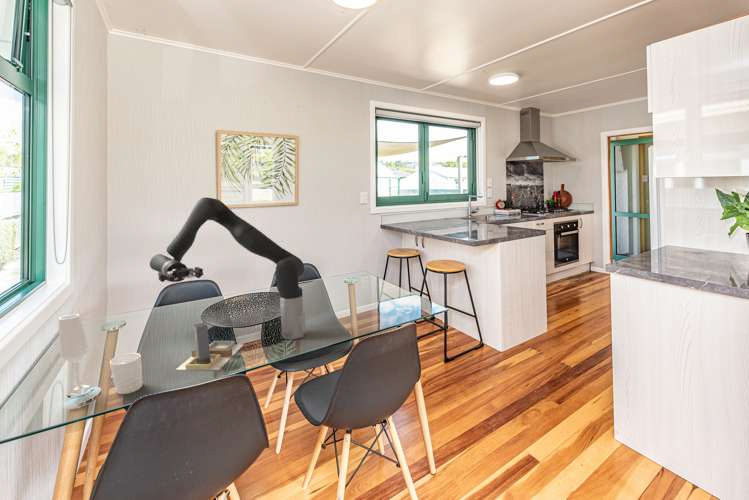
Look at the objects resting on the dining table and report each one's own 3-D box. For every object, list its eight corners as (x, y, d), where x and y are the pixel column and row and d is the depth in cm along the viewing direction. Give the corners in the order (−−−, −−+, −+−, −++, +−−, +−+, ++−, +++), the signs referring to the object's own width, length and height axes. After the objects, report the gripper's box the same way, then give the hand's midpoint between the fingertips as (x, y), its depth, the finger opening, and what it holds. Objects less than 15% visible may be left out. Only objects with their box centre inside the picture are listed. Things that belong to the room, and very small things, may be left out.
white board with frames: (206, 346, 141) (205, 338, 140) (244, 346, 140) (243, 338, 140) (175, 372, 121) (174, 362, 120) (219, 372, 120) (218, 362, 119)
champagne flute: (60, 396, 107) (47, 320, 103) (82, 385, 114) (70, 312, 110) (79, 398, 106) (67, 321, 102) (100, 386, 112) (89, 313, 109)
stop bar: (207, 360, 127) (203, 322, 125) (210, 363, 124) (207, 325, 122) (197, 363, 125) (193, 325, 122) (200, 366, 122) (196, 327, 120)
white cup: (126, 382, 115) (122, 352, 113) (150, 381, 115) (146, 352, 113) (107, 395, 107) (102, 364, 106) (133, 395, 107) (129, 364, 105)
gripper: (152, 263, 135) (162, 270, 123) (193, 258, 144) (206, 264, 132) (154, 283, 136) (165, 291, 124) (194, 276, 145) (208, 283, 133)
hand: (186, 277), depth 128 cm, fingers open, 8 cm apart
